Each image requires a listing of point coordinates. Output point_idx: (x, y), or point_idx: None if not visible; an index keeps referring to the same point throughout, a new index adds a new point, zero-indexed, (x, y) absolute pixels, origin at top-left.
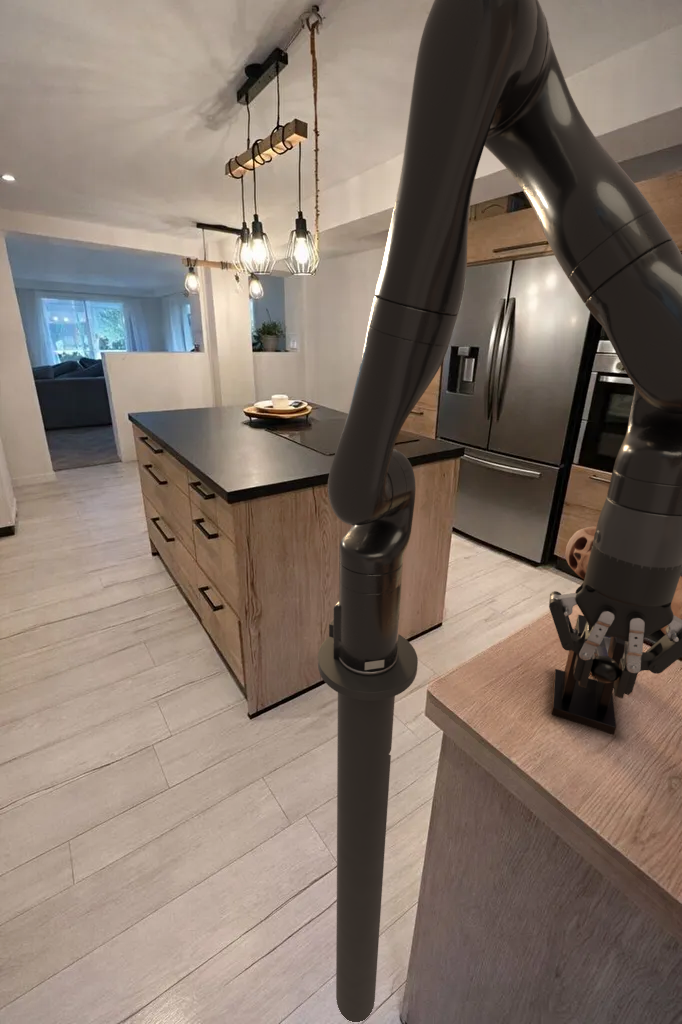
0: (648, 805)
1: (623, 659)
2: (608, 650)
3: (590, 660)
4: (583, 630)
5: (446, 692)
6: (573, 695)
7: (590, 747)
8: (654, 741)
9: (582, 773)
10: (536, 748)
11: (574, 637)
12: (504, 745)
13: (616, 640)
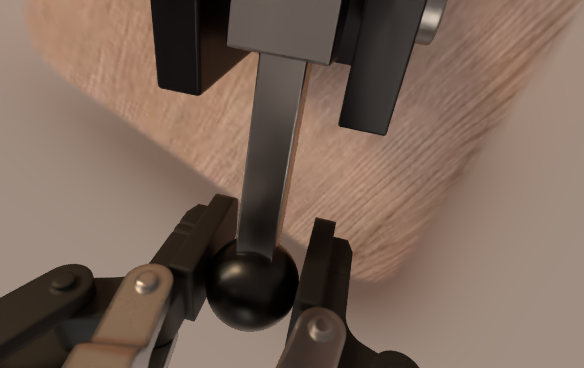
0: (397, 210)
1: (302, 305)
2: (336, 58)
3: (186, 315)
4: (177, 58)
5: (40, 39)
6: None
7: (331, 116)
8: (497, 59)
9: (304, 175)
10: (230, 142)
11: (82, 337)
12: (178, 148)
13: (342, 108)
